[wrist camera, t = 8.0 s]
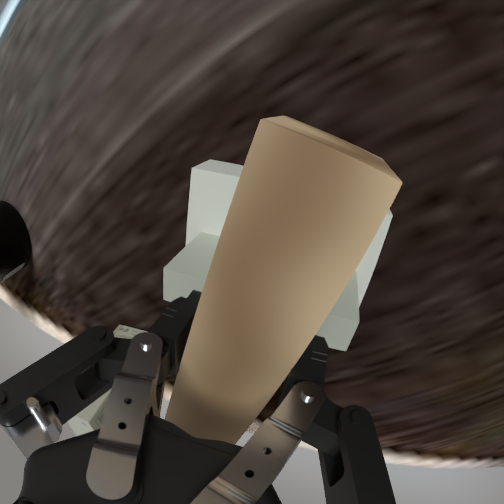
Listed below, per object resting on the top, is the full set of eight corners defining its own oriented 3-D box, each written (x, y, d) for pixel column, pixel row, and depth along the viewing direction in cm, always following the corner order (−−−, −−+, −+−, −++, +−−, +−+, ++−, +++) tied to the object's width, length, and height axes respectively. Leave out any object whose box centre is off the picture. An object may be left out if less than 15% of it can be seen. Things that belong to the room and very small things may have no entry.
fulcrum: (385, 200, 19) (409, 253, 12) (343, 321, 24) (338, 400, 17) (210, 159, 21) (147, 189, 14) (198, 281, 26) (150, 344, 19)
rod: (382, 158, 11) (402, 182, 7) (238, 414, 20) (220, 461, 16) (284, 115, 11) (260, 119, 8) (184, 390, 20) (160, 435, 17)
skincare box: (119, 322, 31) (50, 401, 20) (155, 331, 30) (87, 422, 19) (132, 364, 34) (76, 440, 23) (165, 374, 33) (112, 458, 22)
